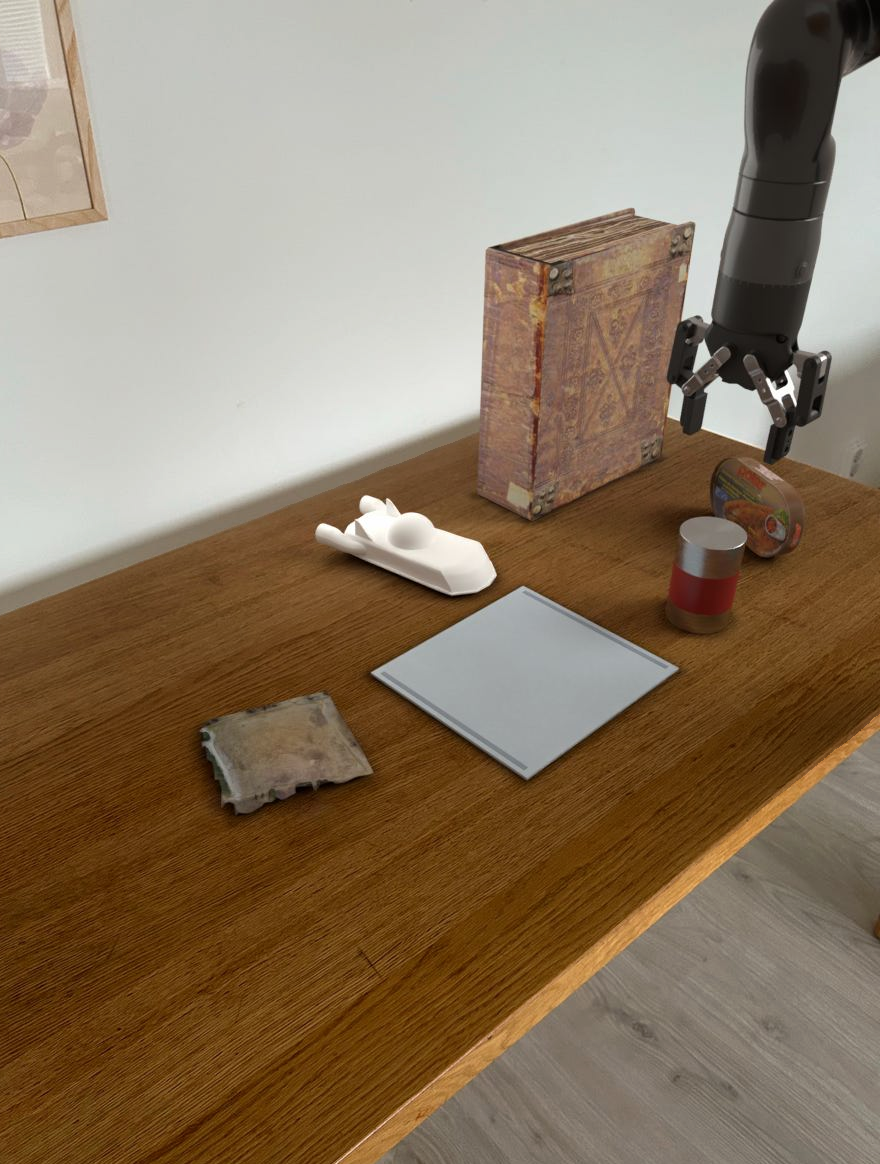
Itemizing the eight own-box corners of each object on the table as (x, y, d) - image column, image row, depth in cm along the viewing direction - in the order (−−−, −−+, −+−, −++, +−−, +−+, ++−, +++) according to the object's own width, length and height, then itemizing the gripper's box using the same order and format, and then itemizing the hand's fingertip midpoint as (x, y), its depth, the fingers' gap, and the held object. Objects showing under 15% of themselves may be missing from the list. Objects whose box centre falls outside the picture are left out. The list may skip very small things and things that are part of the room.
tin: (703, 509, 123) (715, 445, 118) (725, 505, 124) (738, 441, 119) (775, 572, 112) (791, 504, 107) (799, 567, 112) (817, 500, 107)
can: (741, 616, 105) (760, 532, 99) (705, 642, 101) (723, 556, 96) (688, 591, 109) (703, 509, 103) (652, 615, 105) (666, 532, 99)
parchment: (194, 726, 92) (193, 718, 91) (331, 693, 95) (331, 685, 95) (225, 820, 82) (223, 811, 82) (375, 779, 86) (375, 770, 85)
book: (607, 436, 140) (634, 206, 122) (661, 458, 134) (698, 220, 117) (476, 495, 127) (484, 247, 109) (530, 523, 121) (549, 265, 103)
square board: (678, 670, 98) (679, 667, 98) (526, 780, 86) (527, 777, 86) (523, 587, 110) (523, 585, 110) (370, 674, 98) (370, 672, 98)
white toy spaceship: (462, 612, 106) (463, 565, 103) (315, 555, 116) (312, 510, 112) (513, 569, 113) (516, 523, 109) (370, 518, 122) (369, 475, 119)
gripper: (870, 275, 82) (822, 458, 92) (717, 241, 90) (688, 412, 100) (822, 296, 78) (778, 485, 87) (667, 258, 86) (642, 434, 96)
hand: (730, 446), depth 94 cm, fingers open, 8 cm apart
